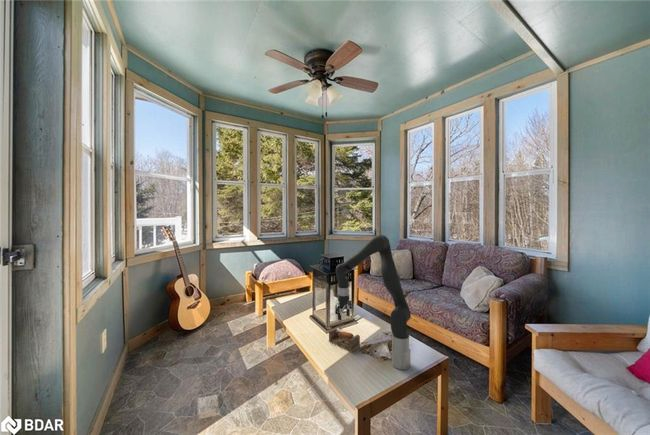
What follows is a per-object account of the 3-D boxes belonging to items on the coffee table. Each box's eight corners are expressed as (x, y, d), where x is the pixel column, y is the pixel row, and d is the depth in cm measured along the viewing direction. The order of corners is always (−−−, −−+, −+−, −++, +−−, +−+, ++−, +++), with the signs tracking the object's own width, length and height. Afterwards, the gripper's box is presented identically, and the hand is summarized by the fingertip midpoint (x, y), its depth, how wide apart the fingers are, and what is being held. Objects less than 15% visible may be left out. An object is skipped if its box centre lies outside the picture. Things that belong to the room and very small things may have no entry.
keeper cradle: (359, 346, 162) (359, 335, 161) (351, 352, 155) (351, 341, 155) (337, 336, 175) (337, 326, 175) (328, 341, 168) (328, 330, 168)
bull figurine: (337, 337, 170) (337, 326, 170) (354, 343, 163) (354, 331, 163) (333, 340, 167) (333, 328, 167) (351, 346, 159) (351, 334, 159)
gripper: (340, 297, 156) (341, 323, 157) (354, 292, 166) (355, 316, 167) (332, 295, 161) (332, 320, 162) (345, 289, 172) (346, 313, 172)
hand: (343, 318), depth 164 cm, fingers open, 8 cm apart
